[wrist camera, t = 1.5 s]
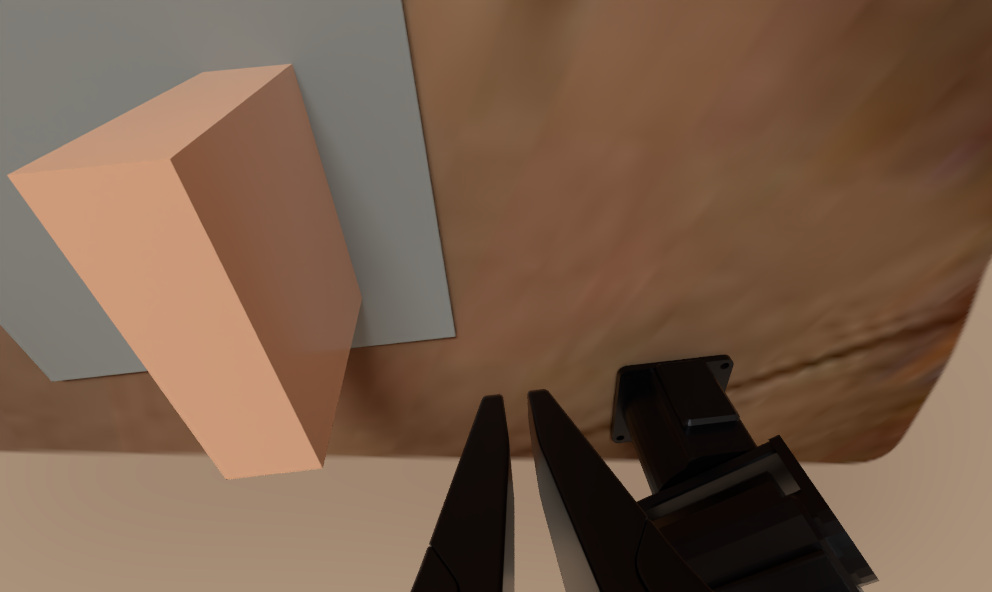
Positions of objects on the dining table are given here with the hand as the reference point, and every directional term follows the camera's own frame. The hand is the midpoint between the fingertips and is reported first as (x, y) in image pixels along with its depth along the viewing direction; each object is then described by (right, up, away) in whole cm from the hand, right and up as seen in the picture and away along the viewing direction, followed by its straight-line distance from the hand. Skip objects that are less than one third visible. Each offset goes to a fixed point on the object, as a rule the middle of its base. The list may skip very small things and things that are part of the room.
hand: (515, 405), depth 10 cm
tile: (-9, +6, +9) cm, 14 cm away
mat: (-13, +6, +9) cm, 17 cm away
